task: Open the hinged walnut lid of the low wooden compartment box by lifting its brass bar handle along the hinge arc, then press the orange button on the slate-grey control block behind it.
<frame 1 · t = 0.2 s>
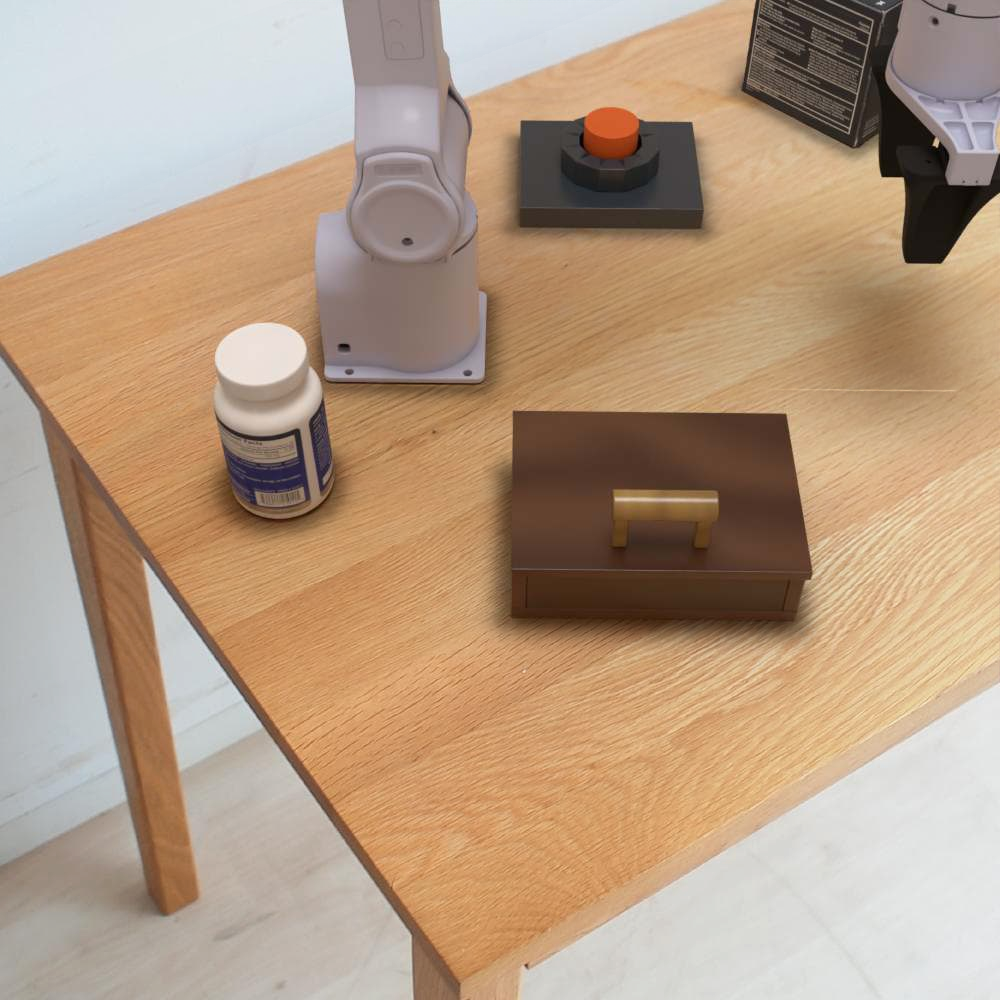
hand: (910, 215, 80), 10 cm above the table, tool pointing down, fingers open, 7 cm apart
control block: (607, 183, 99), on the table
compartment: (647, 543, 77), on the table
lid: (657, 468, 72), point 6 cm above the table, hinge at 0.0°
small box: (822, 105, 105), on the table
pill bottle: (283, 486, 80), on the table
button: (611, 133, 96), point 4 cm above the table, slide at 0.2 cm
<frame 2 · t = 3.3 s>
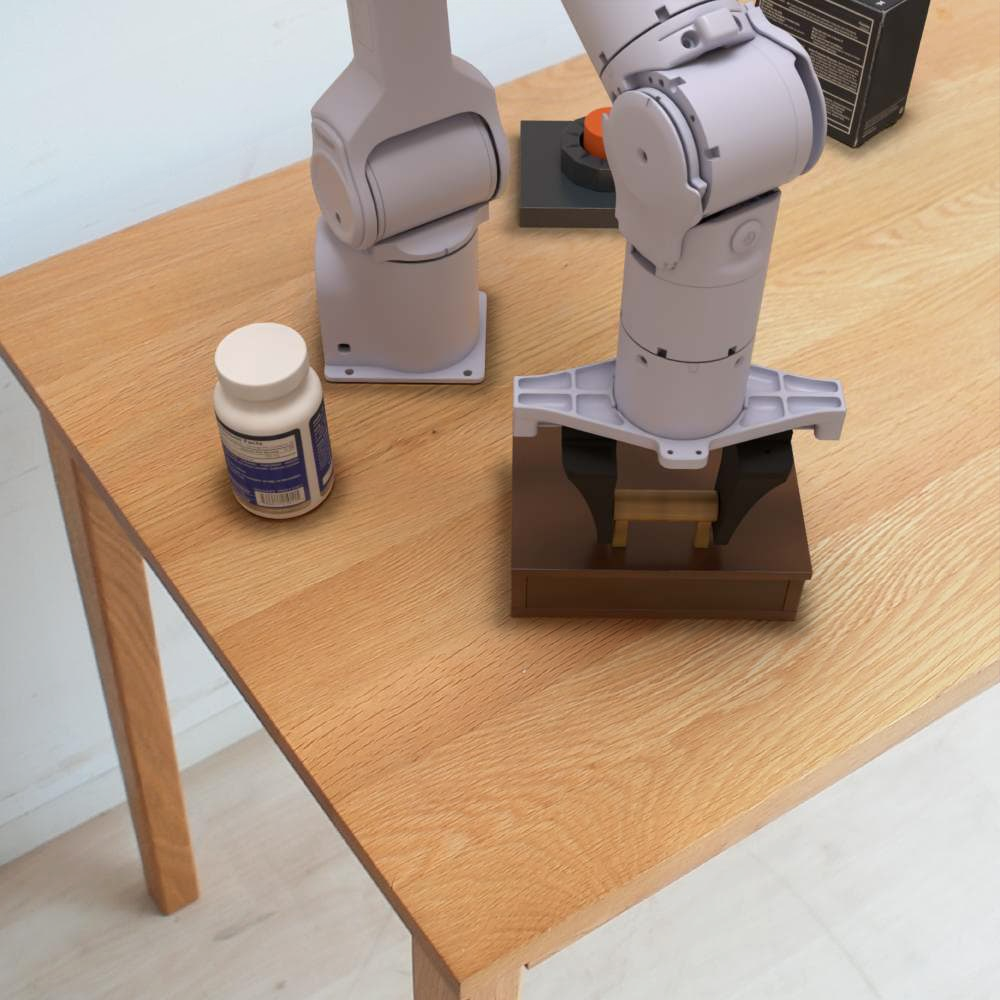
hand: (660, 528, 70), 6 cm above the table, tool pointing down, fingers closed on lid, 5 cm apart
lid: (657, 468, 72), point 6 cm above the table, hinge at 0.0°, touching gripper
everything else where it was.
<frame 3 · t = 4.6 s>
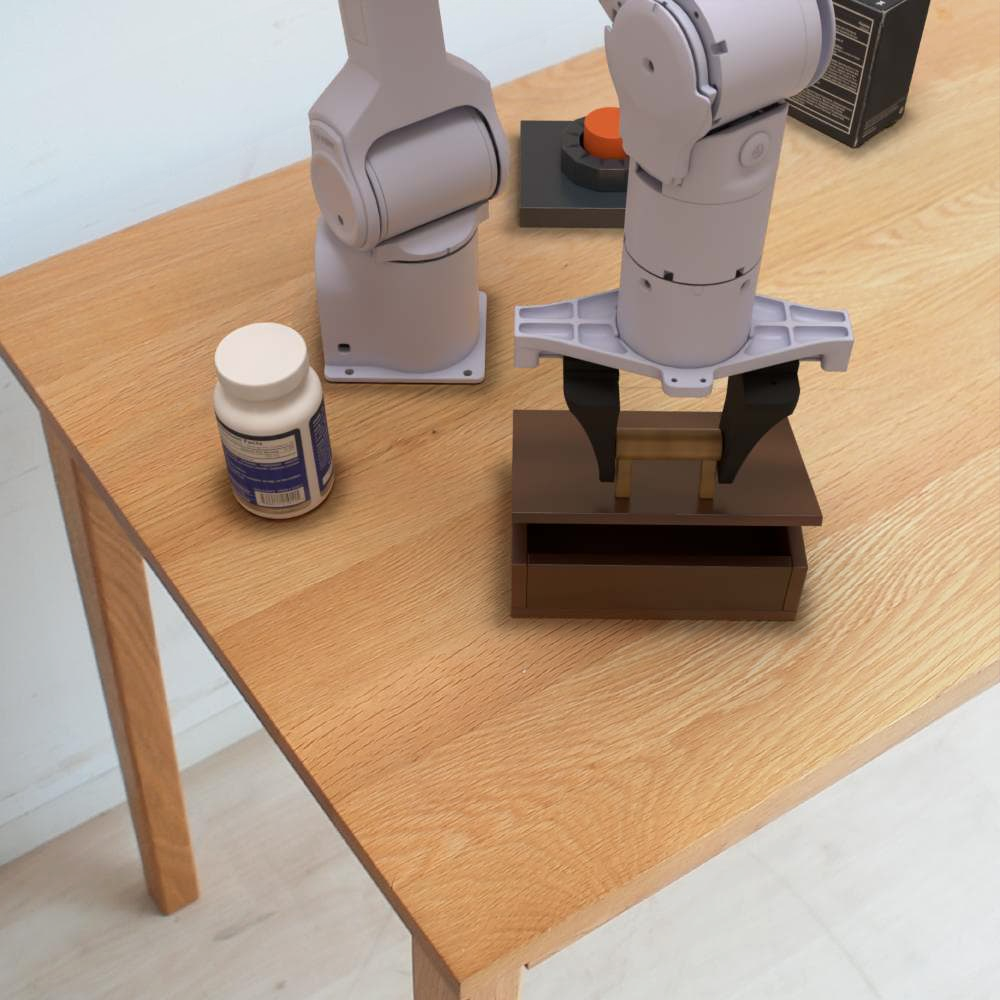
hand: (664, 467, 69), 9 cm above the table, tool pointing down, fingers closed on lid, 5 cm apart
lid: (659, 433, 72), point 8 cm above the table, hinge at 18.5°, touching gripper
everything else where it was.
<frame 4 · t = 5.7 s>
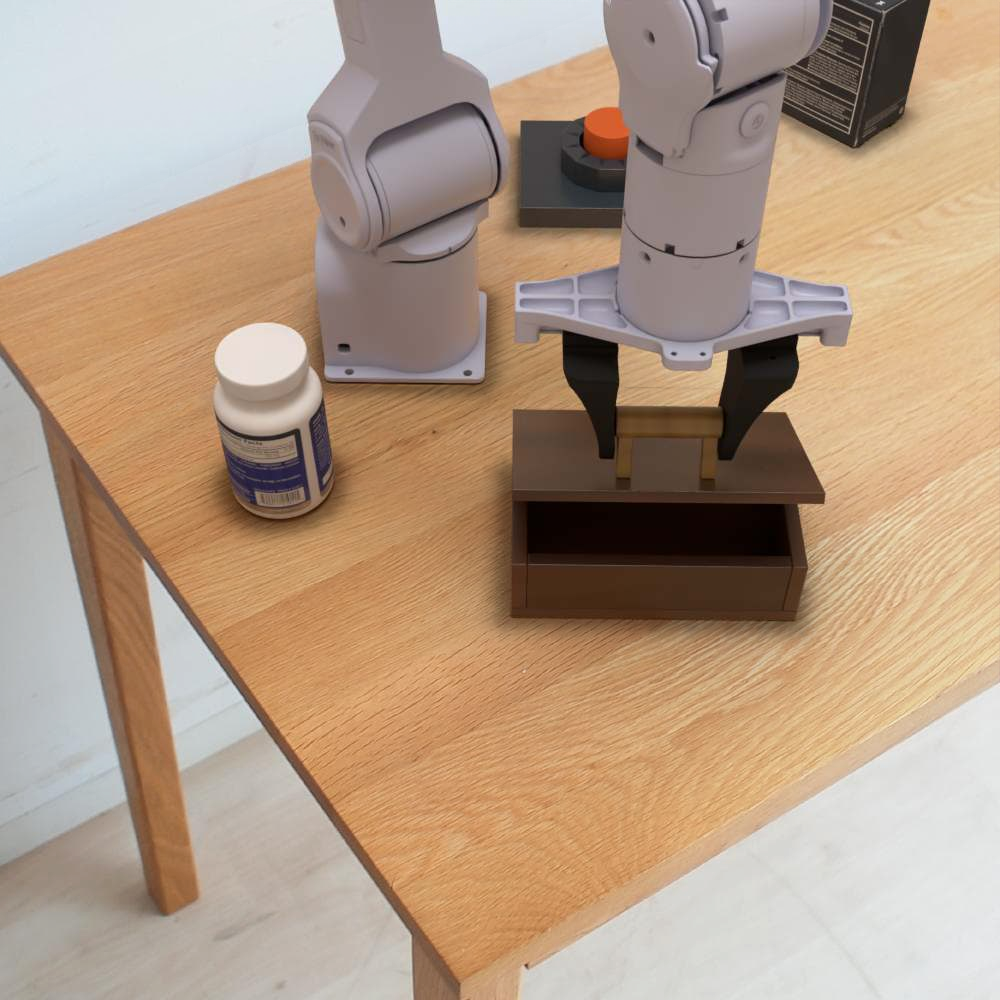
hand: (664, 445, 69), 9 cm above the table, tool pointing down, fingers closed on lid, 5 cm apart
lid: (659, 420, 72), point 9 cm above the table, hinge at 24.7°, touching gripper
everything else where it was.
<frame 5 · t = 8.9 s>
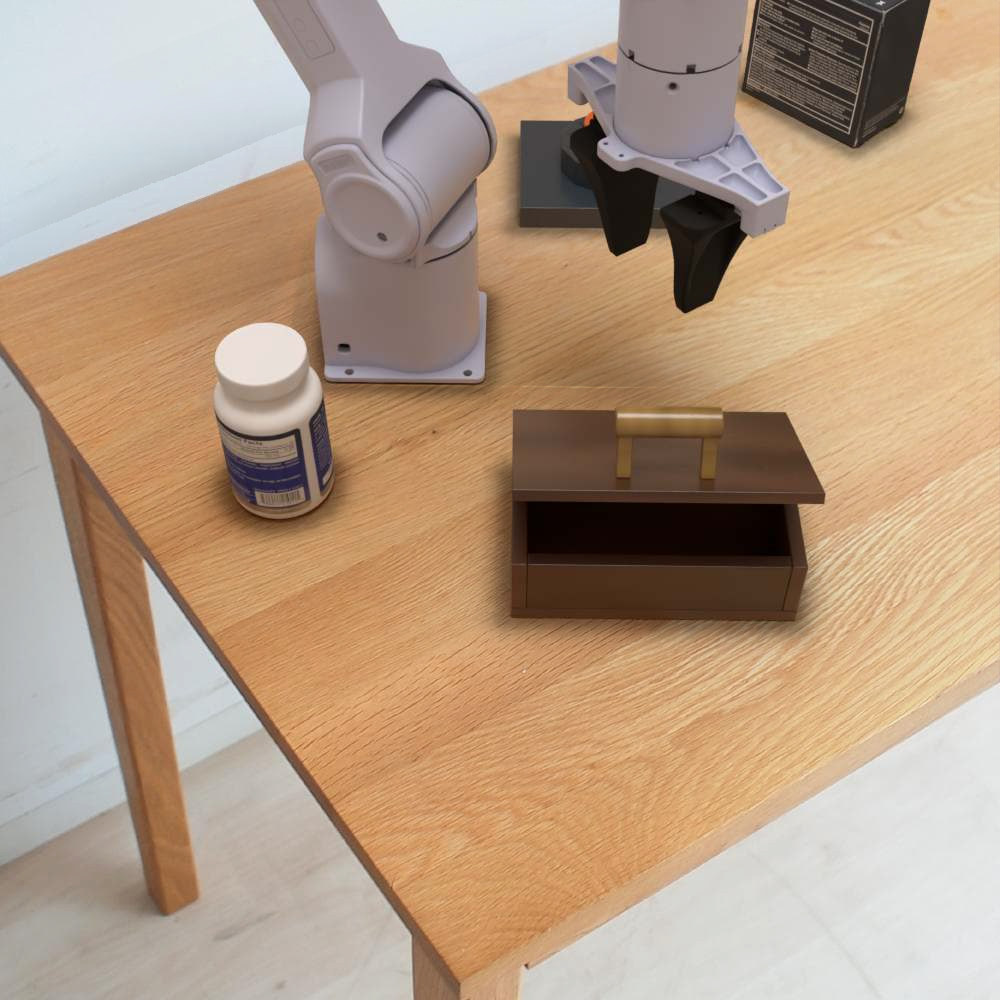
hand: (660, 274, 76), 10 cm above the table, tool pointing down, fingers open, 5 cm apart
lid: (659, 420, 72), point 9 cm above the table, hinge at 24.7°
everything else where it was.
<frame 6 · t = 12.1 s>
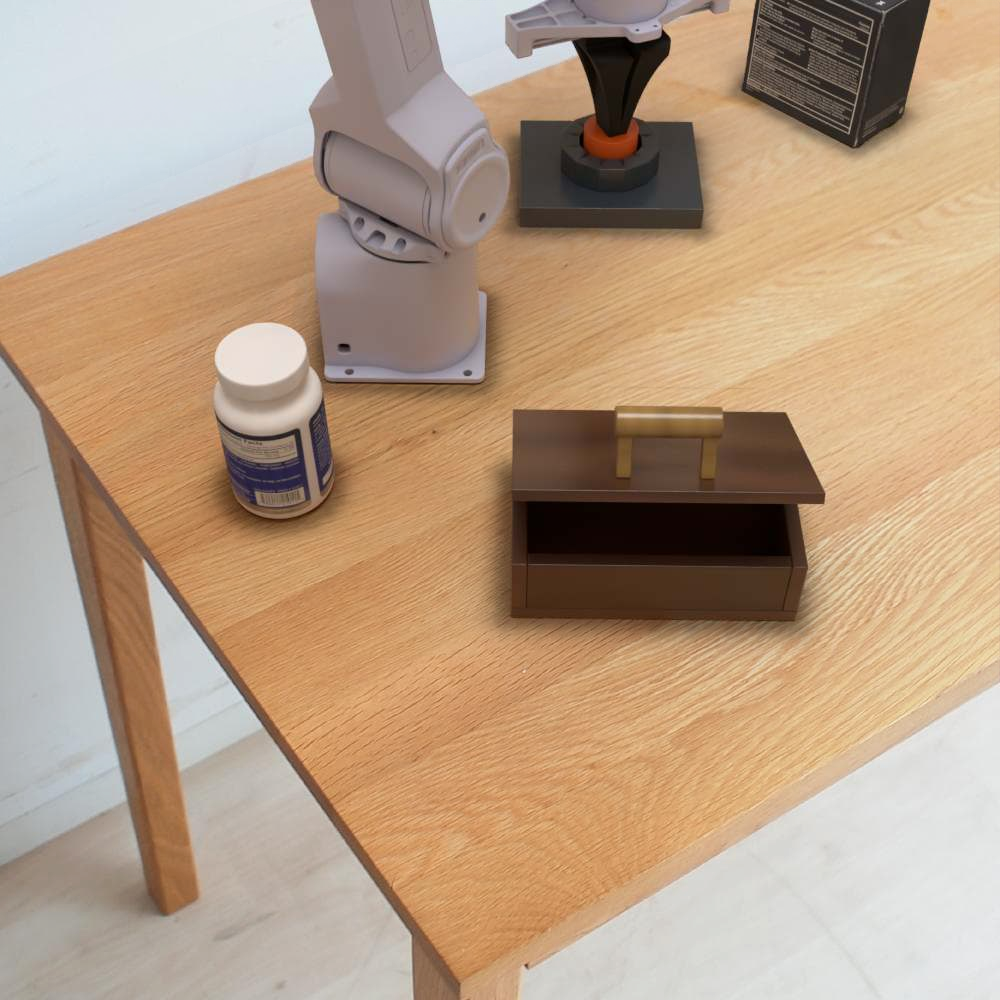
hand: (611, 127, 95), 4 cm above the table, tool pointing down, fingers closed, pressing on button
button: (610, 138, 96), point 4 cm above the table, slide at -0.2 cm, touching gripper
everything else where it was.
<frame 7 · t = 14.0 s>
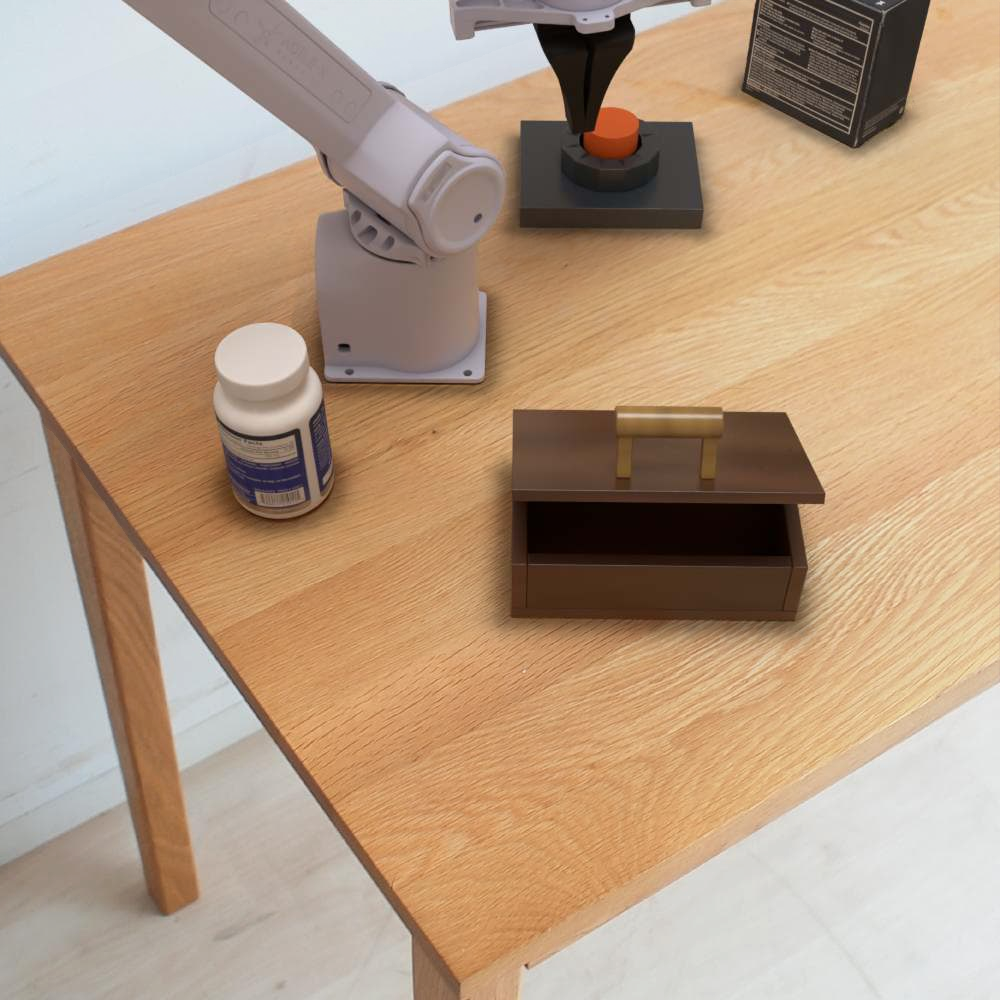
hand: (580, 123, 86), 10 cm above the table, tool pointing down, fingers closed
button: (611, 133, 96), point 4 cm above the table, slide at 0.2 cm
everything else where it was.
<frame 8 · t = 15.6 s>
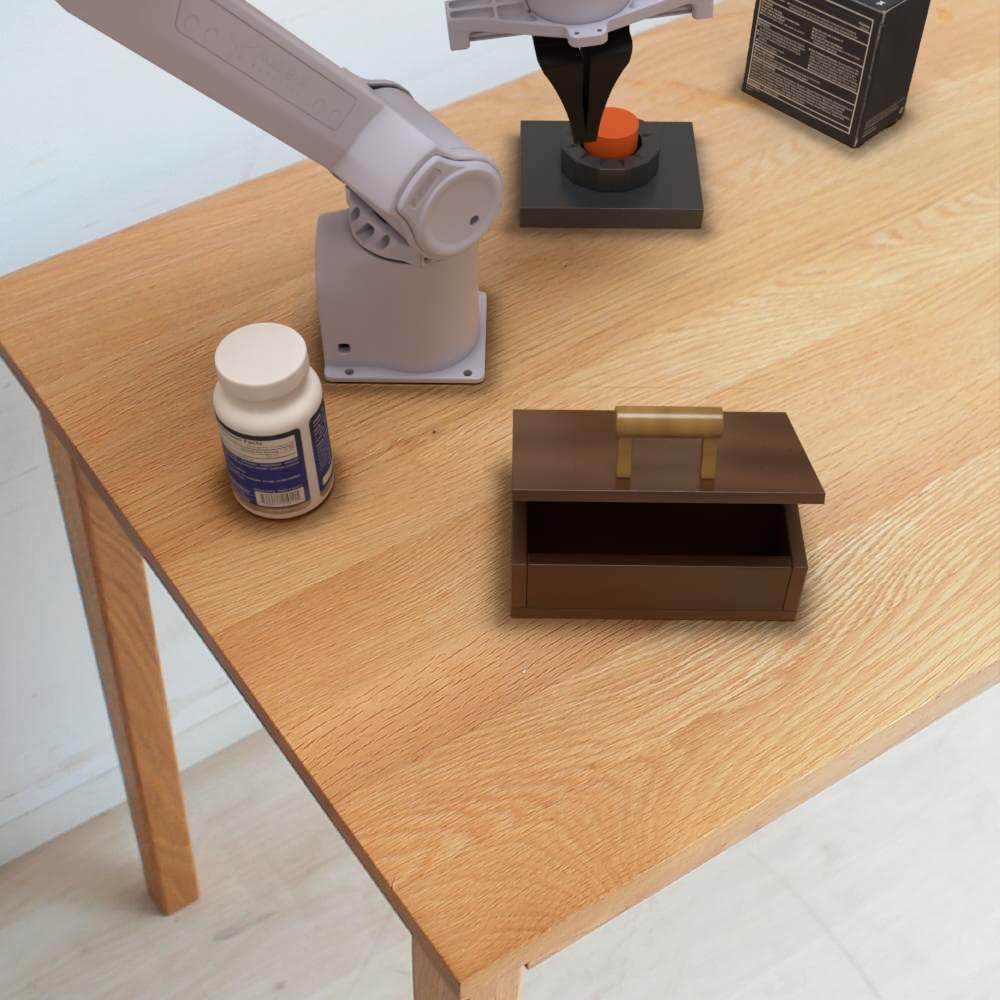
hand: (583, 132, 85), 10 cm above the table, tool pointing down, fingers closed
nothing on the table moved.
at the end: lid at +25° (first picture: +0°); button pushed in 1.2 cm at the most during the clip, back to 0.2 cm at the end; button slide at 0.2 cm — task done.
